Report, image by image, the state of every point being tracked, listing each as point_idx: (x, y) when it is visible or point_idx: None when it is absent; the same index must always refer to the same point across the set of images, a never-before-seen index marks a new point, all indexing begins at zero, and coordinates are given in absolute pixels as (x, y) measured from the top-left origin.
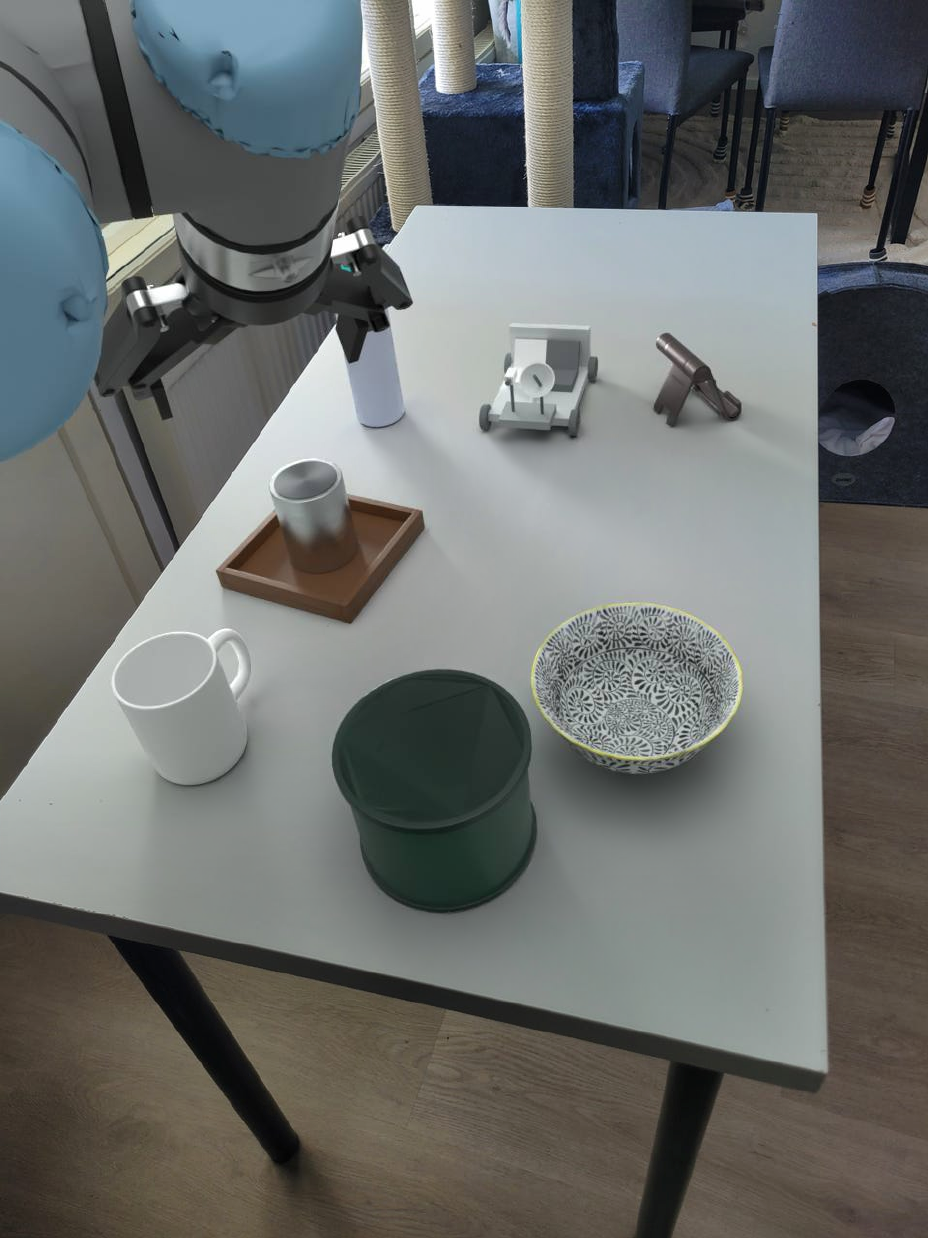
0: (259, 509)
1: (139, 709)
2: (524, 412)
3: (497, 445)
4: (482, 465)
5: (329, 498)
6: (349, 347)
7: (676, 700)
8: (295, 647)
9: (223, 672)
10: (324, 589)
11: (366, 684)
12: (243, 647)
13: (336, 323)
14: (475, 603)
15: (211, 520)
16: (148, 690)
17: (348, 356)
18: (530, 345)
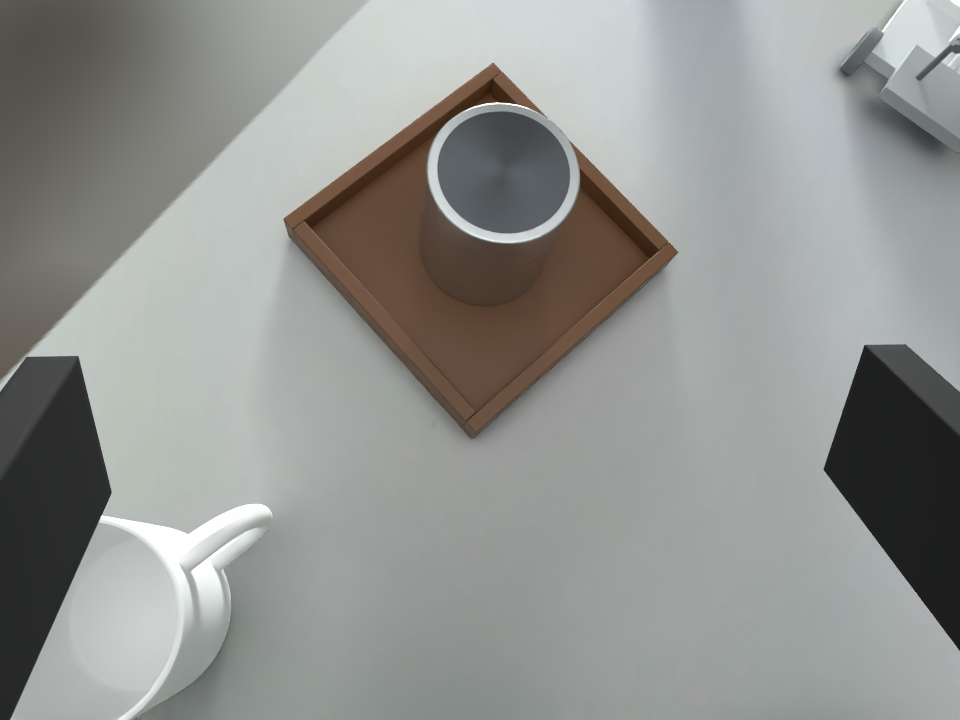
0: (407, 69)
1: None
2: (935, 93)
3: (850, 121)
4: (808, 159)
5: (533, 244)
6: (892, 533)
7: None
8: (366, 448)
9: (194, 633)
10: (454, 344)
11: (453, 596)
12: (261, 525)
13: (896, 378)
14: (685, 495)
15: (318, 53)
16: None
17: (848, 488)
18: None
